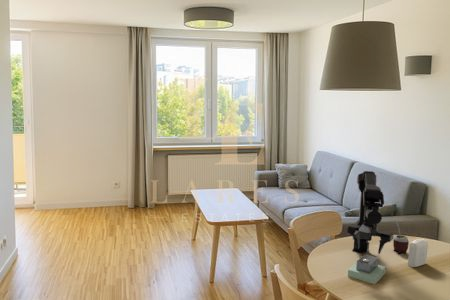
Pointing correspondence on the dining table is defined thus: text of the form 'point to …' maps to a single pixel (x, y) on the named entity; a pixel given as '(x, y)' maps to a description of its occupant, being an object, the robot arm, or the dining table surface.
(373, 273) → the sage stand
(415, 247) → the photo printer
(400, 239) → the mate gourd
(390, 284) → the dining table surface
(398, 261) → the dining table surface
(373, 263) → the graphite housing
